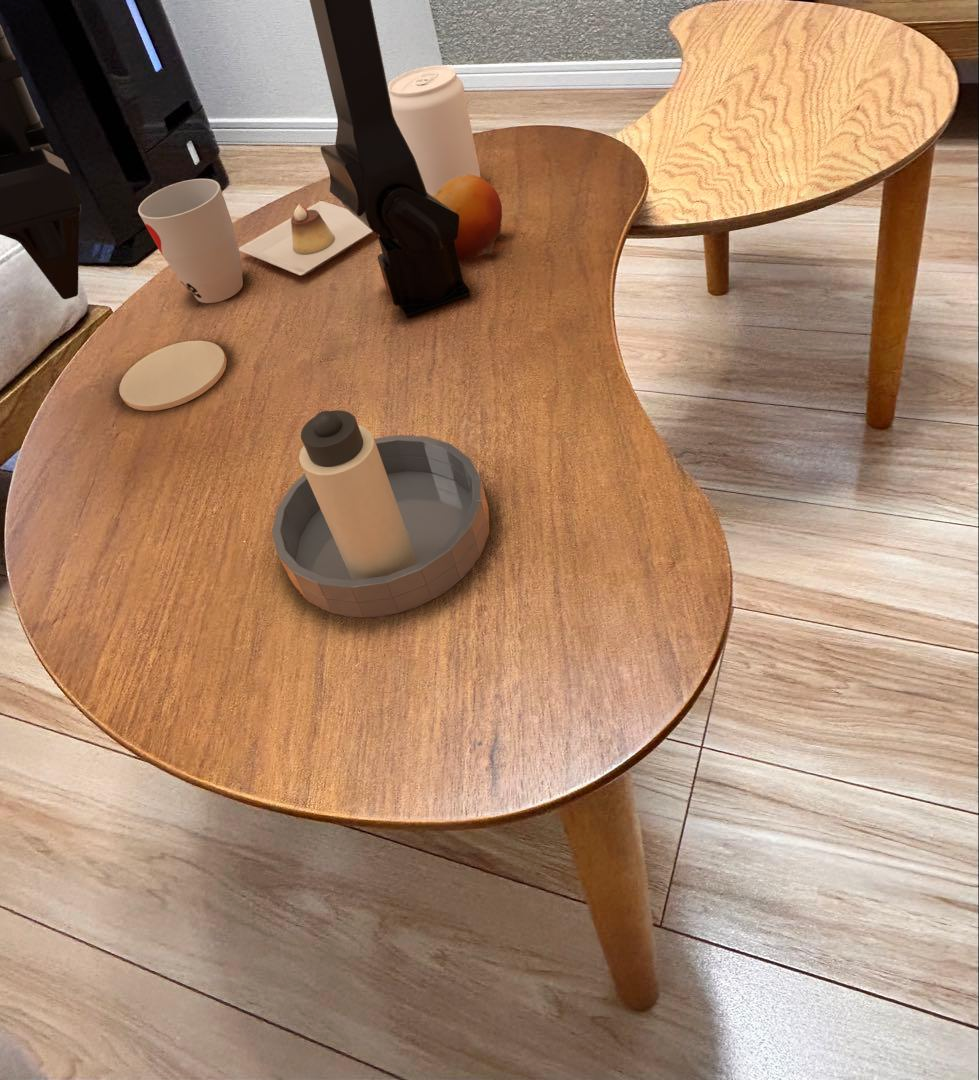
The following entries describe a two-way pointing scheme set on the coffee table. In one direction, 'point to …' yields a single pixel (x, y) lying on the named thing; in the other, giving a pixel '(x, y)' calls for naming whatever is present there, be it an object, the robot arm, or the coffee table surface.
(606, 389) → the coffee table surface
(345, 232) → the dessert
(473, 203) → the fruit
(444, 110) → the beverage can
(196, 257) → the cup
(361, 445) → the pepper mill
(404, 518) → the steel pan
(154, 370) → the tile coaster
